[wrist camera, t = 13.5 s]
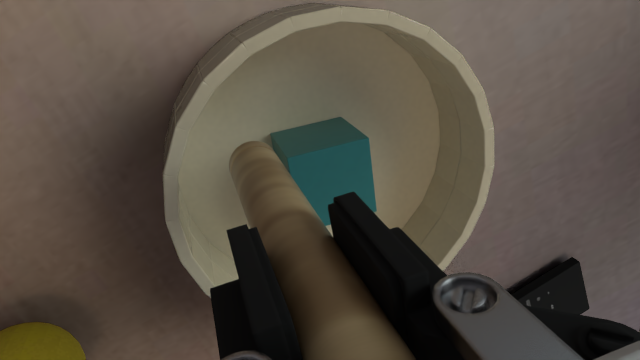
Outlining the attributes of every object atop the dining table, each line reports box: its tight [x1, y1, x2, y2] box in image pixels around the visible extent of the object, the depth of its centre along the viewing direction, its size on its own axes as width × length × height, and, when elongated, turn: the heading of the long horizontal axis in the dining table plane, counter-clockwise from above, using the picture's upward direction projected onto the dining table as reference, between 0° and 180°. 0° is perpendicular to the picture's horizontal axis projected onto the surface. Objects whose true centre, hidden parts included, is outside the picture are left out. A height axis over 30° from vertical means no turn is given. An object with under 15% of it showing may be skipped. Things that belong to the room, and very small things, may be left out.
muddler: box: [229, 141, 416, 360], centre depth 13 cm, size 2×2×13 cm
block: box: [270, 117, 377, 226], centre depth 23 cm, size 4×4×4 cm
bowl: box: [163, 3, 494, 298], centre depth 24 cm, size 16×16×5 cm
